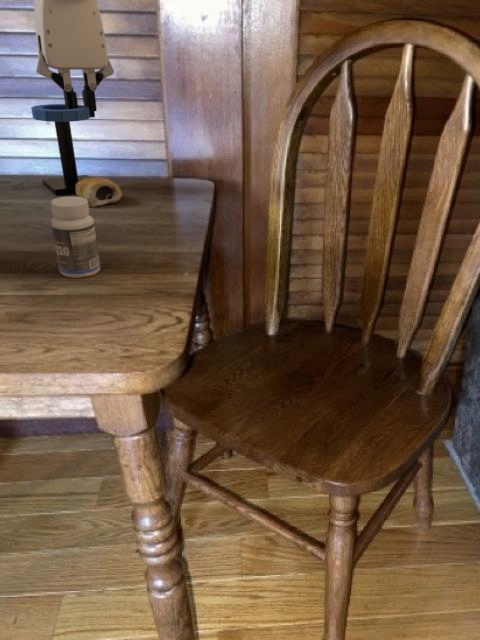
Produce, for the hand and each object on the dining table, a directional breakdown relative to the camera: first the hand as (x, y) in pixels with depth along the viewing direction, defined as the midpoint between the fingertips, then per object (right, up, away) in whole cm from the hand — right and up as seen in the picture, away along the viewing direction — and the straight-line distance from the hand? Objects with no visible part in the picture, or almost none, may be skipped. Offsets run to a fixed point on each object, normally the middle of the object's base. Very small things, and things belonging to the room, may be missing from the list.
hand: (82, 115), depth 96 cm
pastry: (+3, -15, -2) cm, 16 cm away
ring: (-3, -1, -2) cm, 3 cm away
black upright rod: (-3, -11, +4) cm, 12 cm away
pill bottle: (+9, -31, -28) cm, 43 cm away
